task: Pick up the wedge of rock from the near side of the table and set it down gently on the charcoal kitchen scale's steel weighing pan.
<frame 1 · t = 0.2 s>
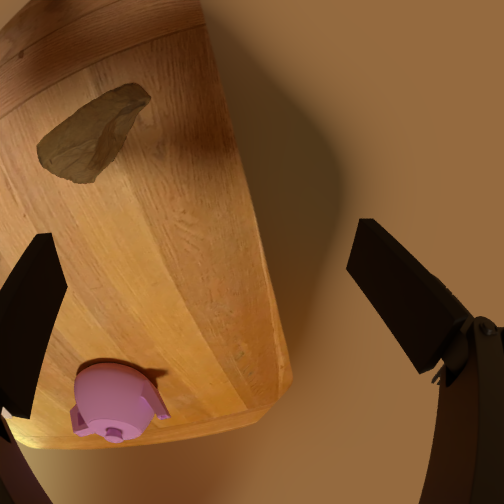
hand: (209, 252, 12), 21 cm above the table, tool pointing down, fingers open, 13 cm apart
teapot: (116, 381, 47), on the table
rock: (112, 131, 26), on the table
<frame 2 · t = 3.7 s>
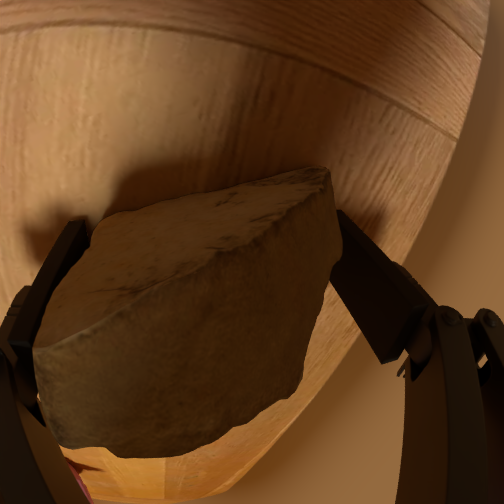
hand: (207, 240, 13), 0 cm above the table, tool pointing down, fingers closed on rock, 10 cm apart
rock: (206, 226, 13), on the table, touching gripper
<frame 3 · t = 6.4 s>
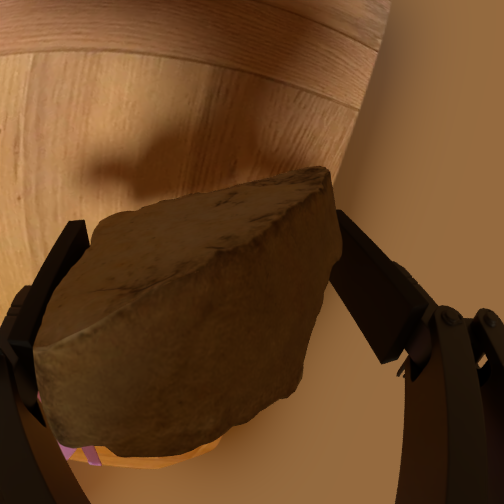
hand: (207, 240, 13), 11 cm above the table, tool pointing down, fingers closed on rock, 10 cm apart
teapot: (41, 400, 33), on the table
rock: (206, 226, 13), point 10 cm above the table, touching gripper
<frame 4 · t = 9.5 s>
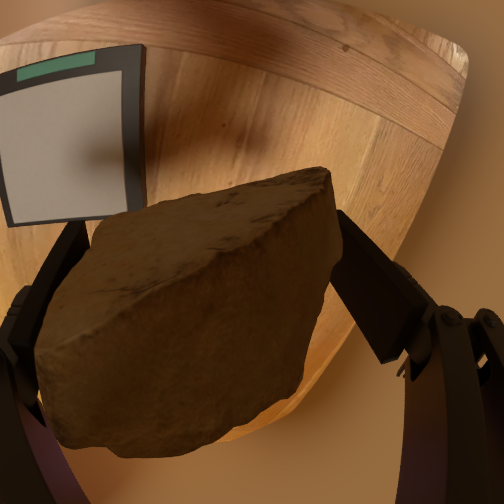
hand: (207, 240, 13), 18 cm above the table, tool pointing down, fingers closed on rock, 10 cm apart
scale: (67, 136, 23), on the table
rock: (207, 226, 13), point 17 cm above the table, touching gripper
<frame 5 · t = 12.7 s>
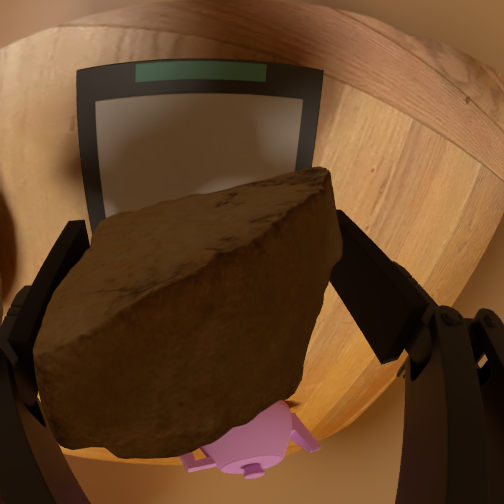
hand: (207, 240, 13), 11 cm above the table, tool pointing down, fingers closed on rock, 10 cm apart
scale: (196, 165, 22), on the table
teapot: (239, 409, 43), on the table
rock: (206, 227, 13), point 11 cm above the table, touching gripper
when the fingers open (4 cm above the table, at t = 15.3 s): rock stays where it is, resting on scale.
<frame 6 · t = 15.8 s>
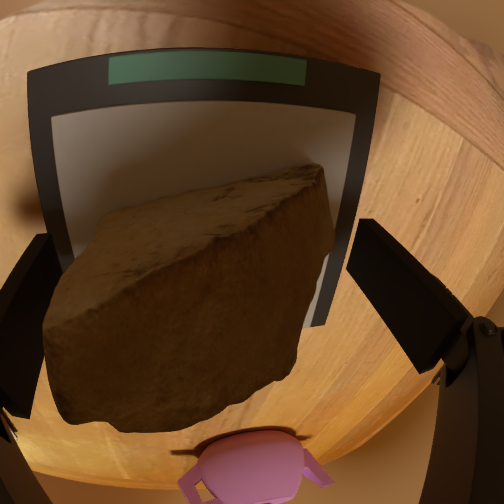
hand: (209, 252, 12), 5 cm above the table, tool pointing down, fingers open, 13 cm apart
scale: (200, 200, 16), on the table
teapot: (247, 445, 38), on the table
rock: (205, 222, 13), point 3 cm above the table, touching scale
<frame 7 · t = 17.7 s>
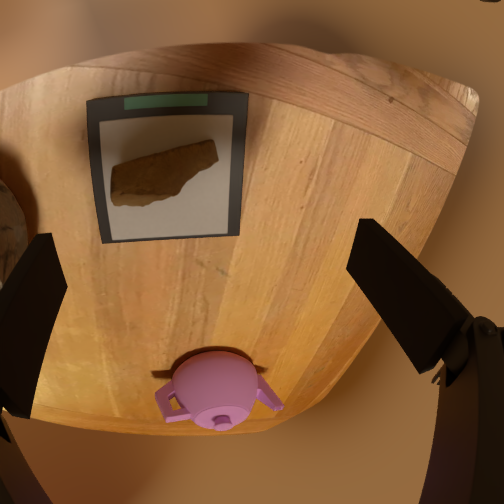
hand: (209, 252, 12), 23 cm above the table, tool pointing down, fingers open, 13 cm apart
scale: (167, 163, 31), on the table
teapot: (213, 370, 52), on the table
rock: (165, 168, 28), point 3 cm above the table, touching scale
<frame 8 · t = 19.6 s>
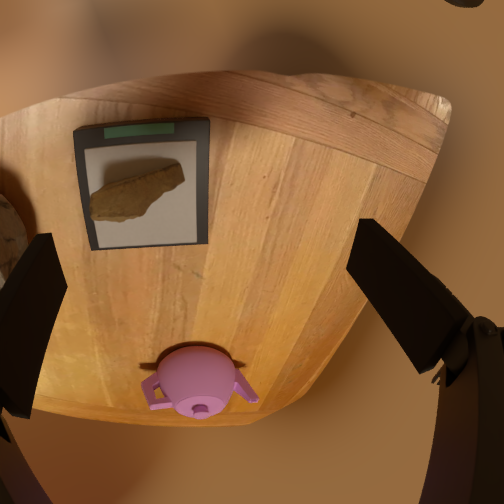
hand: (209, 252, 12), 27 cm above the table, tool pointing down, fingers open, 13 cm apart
scale: (144, 181, 36), on the table
teapot: (195, 364, 57), on the table
rock: (141, 188, 33), point 3 cm above the table, touching scale
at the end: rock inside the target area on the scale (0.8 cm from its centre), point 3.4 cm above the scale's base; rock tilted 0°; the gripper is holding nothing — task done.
